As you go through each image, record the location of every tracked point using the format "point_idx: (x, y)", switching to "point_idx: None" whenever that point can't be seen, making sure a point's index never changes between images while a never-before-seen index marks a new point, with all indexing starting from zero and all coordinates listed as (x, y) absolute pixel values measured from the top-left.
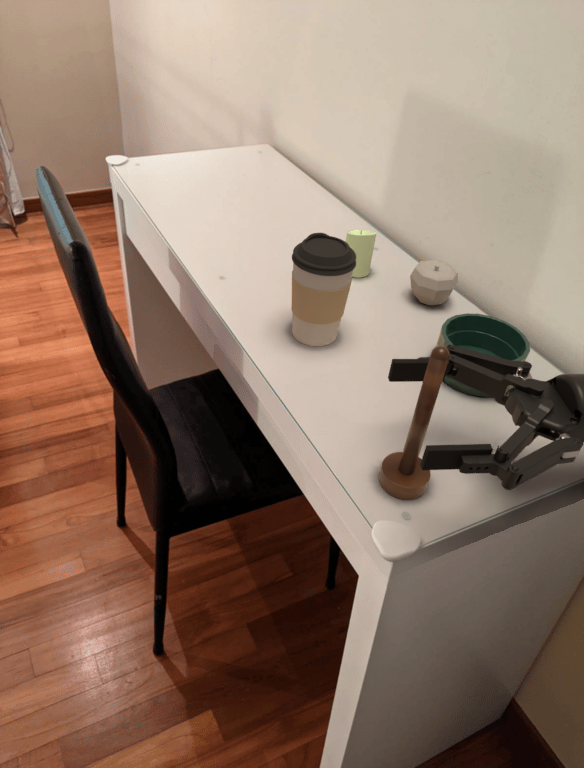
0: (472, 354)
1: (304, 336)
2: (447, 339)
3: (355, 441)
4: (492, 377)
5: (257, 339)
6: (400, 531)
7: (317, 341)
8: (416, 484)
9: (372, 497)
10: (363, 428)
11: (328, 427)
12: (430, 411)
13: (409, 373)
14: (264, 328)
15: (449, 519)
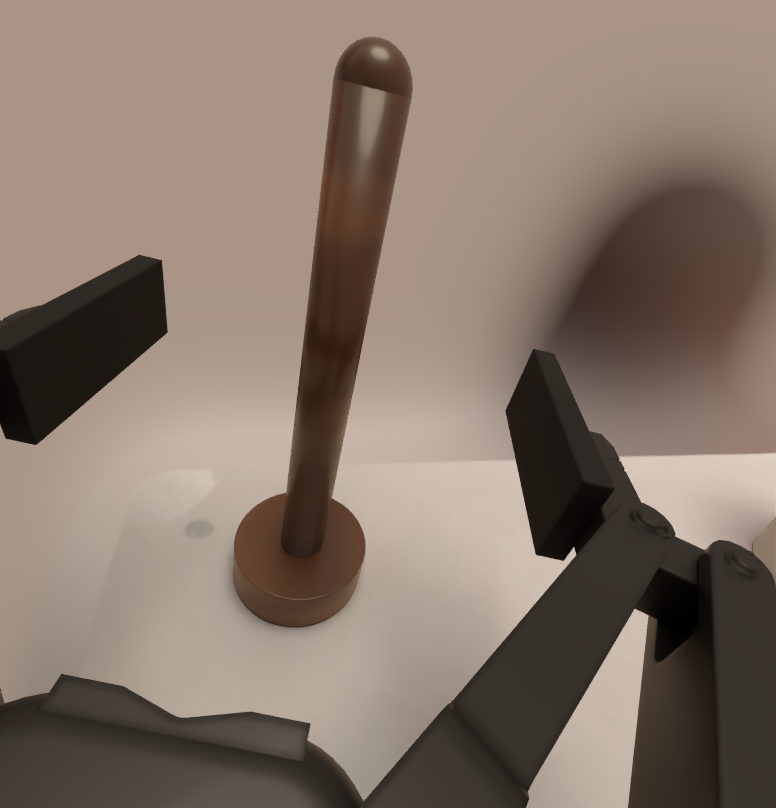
0: (737, 658)
1: (766, 531)
2: None
3: (438, 525)
4: (493, 659)
5: (715, 476)
6: (169, 501)
7: (770, 560)
8: (245, 540)
9: (277, 492)
10: (481, 556)
11: (480, 495)
12: (304, 343)
13: (526, 419)
14: (760, 496)
15: (125, 623)
